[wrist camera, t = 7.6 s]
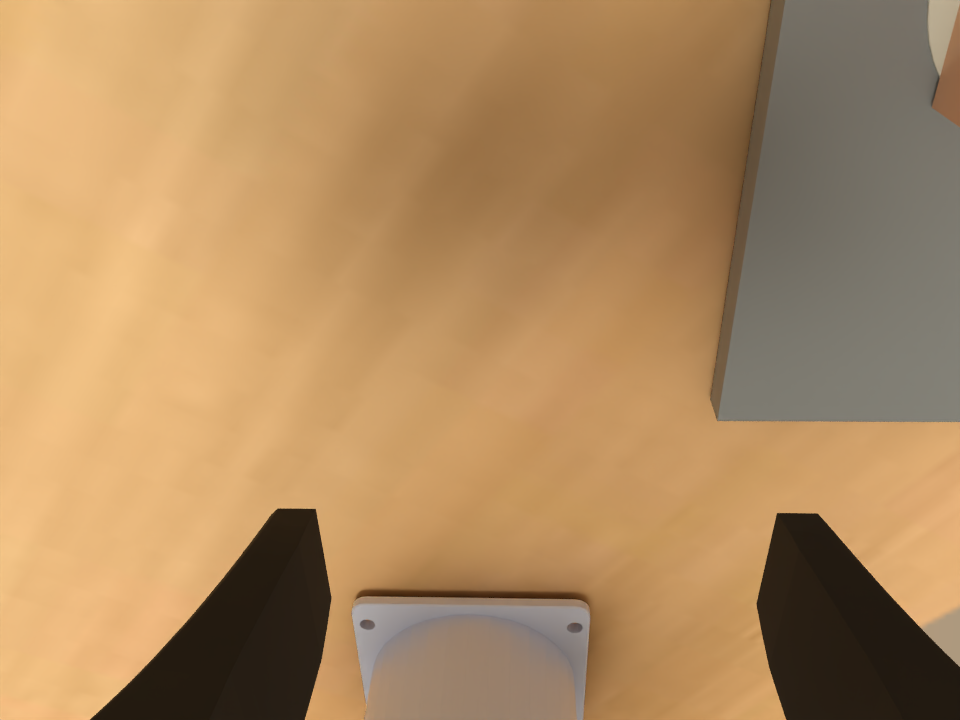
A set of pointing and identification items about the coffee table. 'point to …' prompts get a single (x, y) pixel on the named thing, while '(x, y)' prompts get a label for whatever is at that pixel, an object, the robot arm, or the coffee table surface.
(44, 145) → the coffee table surface
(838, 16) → the post board
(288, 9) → the coffee table surface
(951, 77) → the tan square tube block
